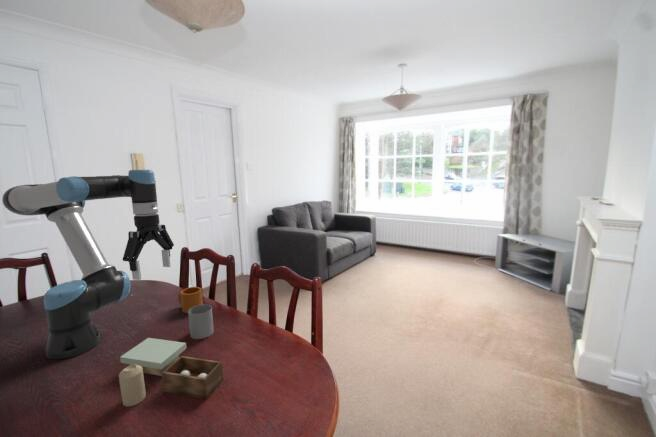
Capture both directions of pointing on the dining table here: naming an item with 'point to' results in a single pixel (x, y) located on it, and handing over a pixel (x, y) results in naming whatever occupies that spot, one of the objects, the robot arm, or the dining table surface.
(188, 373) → the ball
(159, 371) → the block
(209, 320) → the cup
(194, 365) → the walnut box
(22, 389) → the dining table surface
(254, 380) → the dining table surface
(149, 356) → the lid
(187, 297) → the mug
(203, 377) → the ball
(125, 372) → the candle
